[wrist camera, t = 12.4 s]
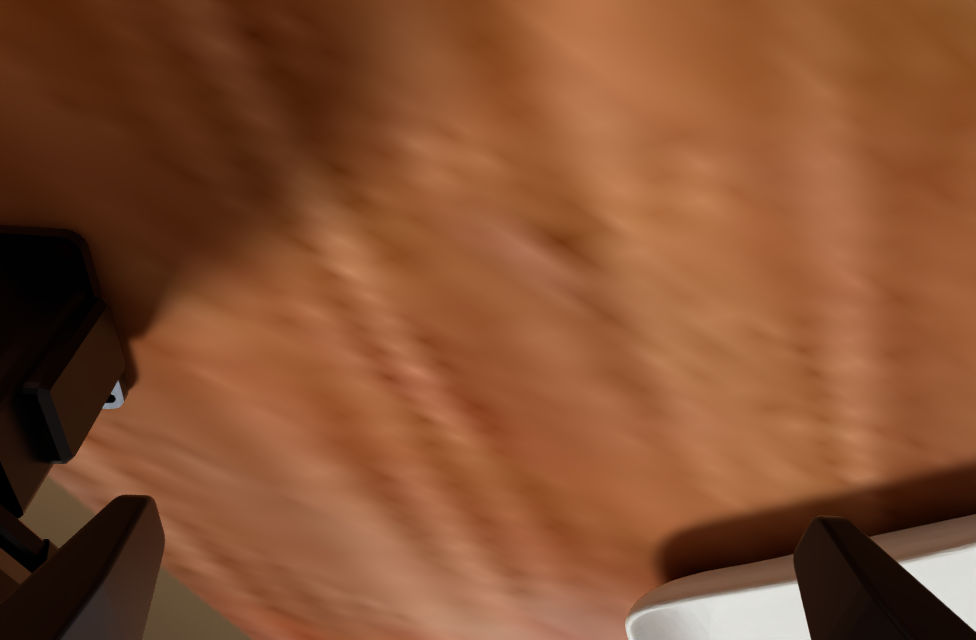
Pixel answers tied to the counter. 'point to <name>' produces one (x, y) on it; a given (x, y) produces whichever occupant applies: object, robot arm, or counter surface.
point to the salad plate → (776, 597)
